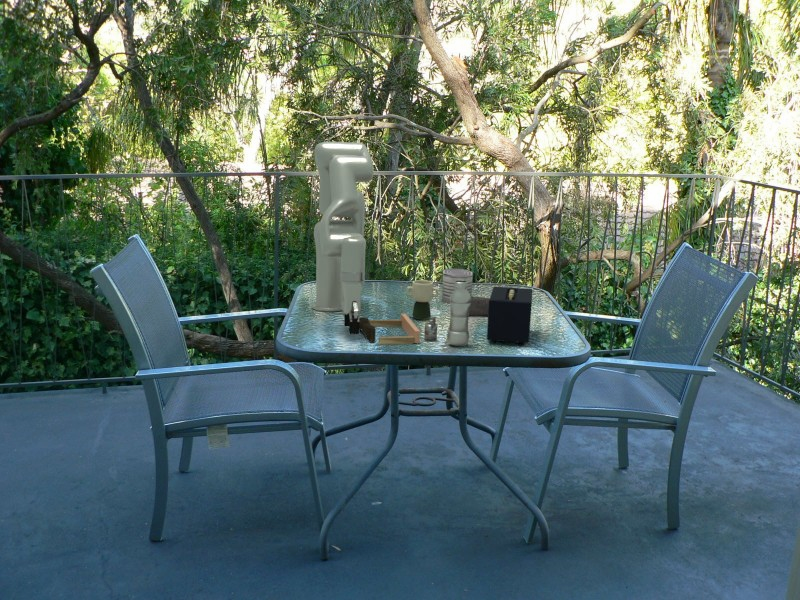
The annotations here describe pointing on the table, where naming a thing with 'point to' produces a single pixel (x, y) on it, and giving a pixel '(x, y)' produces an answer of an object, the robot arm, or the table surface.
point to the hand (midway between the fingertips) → (351, 330)
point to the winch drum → (431, 330)
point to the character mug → (422, 297)
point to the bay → (392, 339)
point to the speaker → (509, 315)
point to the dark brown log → (367, 329)
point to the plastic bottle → (459, 314)
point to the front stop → (410, 328)
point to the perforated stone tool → (479, 306)
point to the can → (450, 279)
